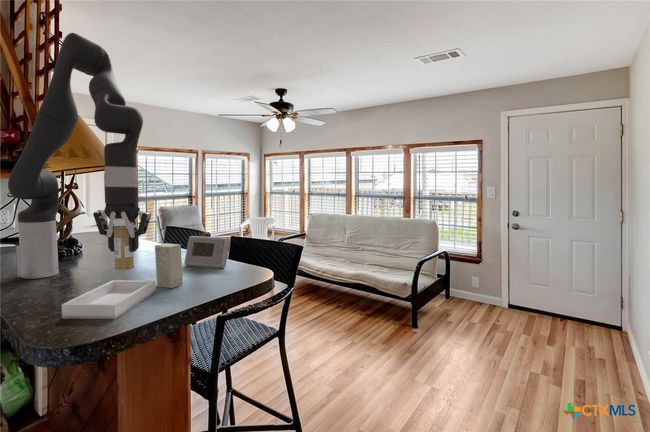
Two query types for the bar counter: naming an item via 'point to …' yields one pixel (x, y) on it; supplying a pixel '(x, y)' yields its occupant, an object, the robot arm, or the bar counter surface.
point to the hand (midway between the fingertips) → (123, 250)
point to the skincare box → (168, 265)
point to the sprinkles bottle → (122, 246)
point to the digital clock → (207, 252)
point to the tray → (108, 300)
